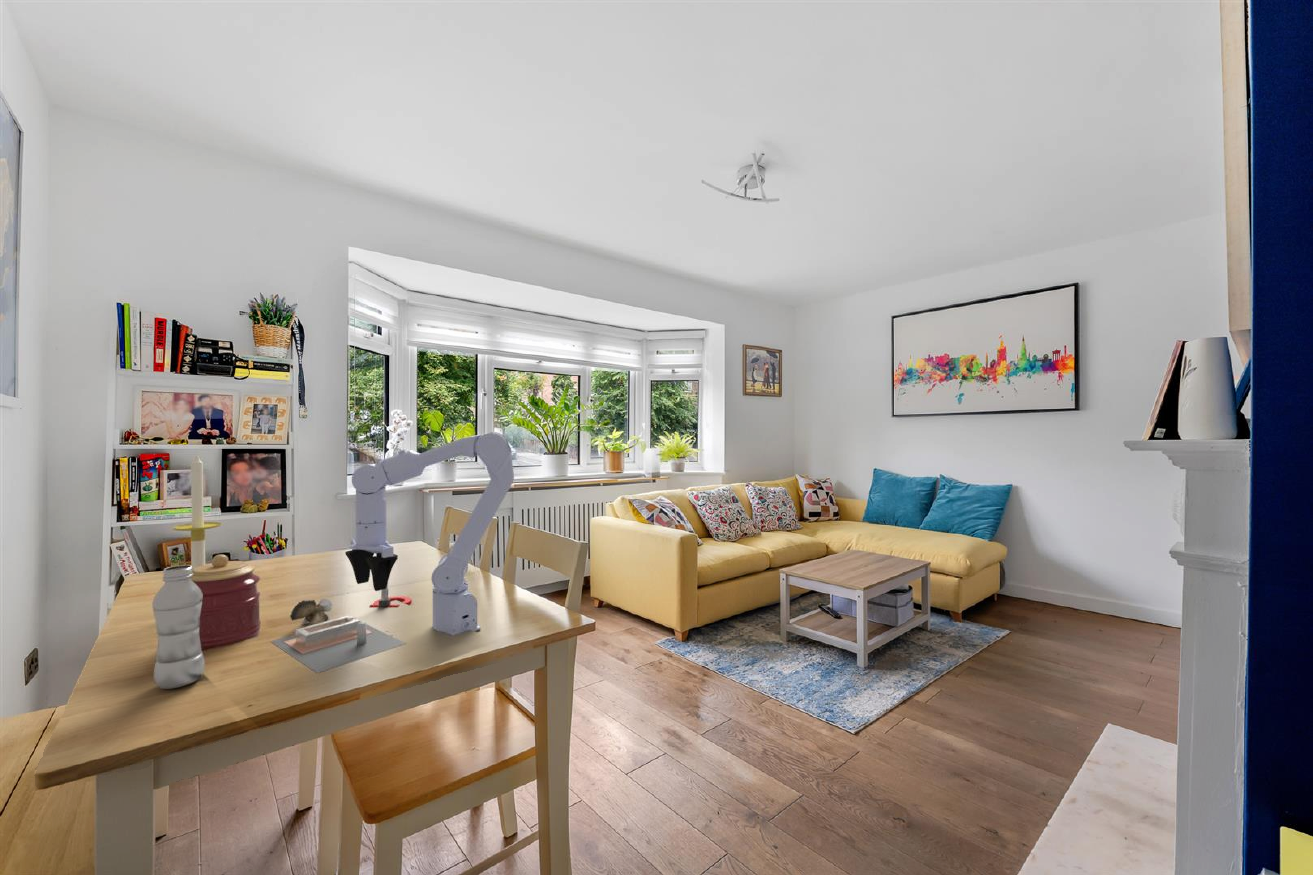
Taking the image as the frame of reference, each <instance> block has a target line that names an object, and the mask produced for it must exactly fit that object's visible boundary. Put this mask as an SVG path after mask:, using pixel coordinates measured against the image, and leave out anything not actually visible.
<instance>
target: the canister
mask: <svg viewBox="0 0 1313 875" xmlns="http://www.w3.org/2000/svg"><path fill="white" fill-rule="evenodd" d="M255 569H256V567H255V566H254V565H252V564H249V563H247V562H245V561H243V560H242V561H241V560H229V557H228V556H227V555H225V554H216V555H215V556H214V557H213V558H212V560H211V563H205V565H201V566H198V567H196V568H194V569H193V570H192V573H193V577H191V581H193V582H194V583H195V584H196V585H197V586H198V587H199V588H200V589H201V591H202V594H203V600H202V607H201V613H200V626H199V635H200V643H201V651H202V652H204V651H207V650H211V649H215V648H219V647H225V646H229V645H232V644H236V643H238V642H242V641H246V640H249V639H254V638H257V637H258V636H259V634H260V630H261V626H262V625H261V622H262V621H261V620H260V597H261V593H260V591H258V583H259V582H260V581H261V577H260V576H259V575H258V574H255V573H254V571H255Z"/></svg>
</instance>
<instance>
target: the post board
mask: <svg viewBox="0 0 1313 875" xmlns="http://www.w3.org/2000/svg"><path fill="white" fill-rule="evenodd" d="M353 619H356V618H354V617H353ZM270 643H272V644H273V645H274V646H276V647H277V648H278V649H280V650H282V651H283V652H284V653H286V654H288V655H289V656H291V657H292V658H294V659H295V660H296V661H298V662H299V663H301V664H302V665H304V666H305V667H307V668H308V669H310V670H311V671H313V672H315V673H316V674H320V673H323V672H326V671H329V670H331V669H335V668H337V667H340V666H343V665H347V664H350V663H353V662H355V661H360V660H361V659H365V658H367V657H371V656H374V655H376V654H380V653H383V652H385V651H388V650H391V649H394V648H398V647H400V646H403V645H406V644H407V643H406V642H404V641H402V640H400V639H398V638H396V637H393V636H392V635H389V634H387V633H386V632H383V631H381V630H379V629H377V628H375V627H373V626H371V625H369V624H367V621H361V620H360V622H359V623H357V634H354V635H350V636H347V637H344V638H340V639H337V640H333V641H330V642H327V643H323V644H320V645H316V646H313V647H310V648H304V647H303V646H301V645H300V644H298V643H297V642H296V634H293V635H290V636H289V635H288V636H285V637H282V638H278V639H275V640H271V641H270Z"/></svg>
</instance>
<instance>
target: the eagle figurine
mask: <svg viewBox="0 0 1313 875" xmlns="http://www.w3.org/2000/svg"><path fill="white" fill-rule="evenodd" d="M332 607H333V603H332V601H331V600H330V599H328V598H322V599H320V601H319V602H318V603H317V602H316V601H315V599H312V600H311V599H309V600H305V599H304V600H301V601H299V602H298V603H297V604H296V605H295V606H294V608H293V609H292V611H291V614H290V616H289V617H290V620H291V621H297V620H301V619H303V620H302V622H301V623H300V626H304V625H306V624H307V625H306V627H307V626H311V625H314V624H318V623H322V622H326V621H329V616H328V615H327V614H326V613H327V612H330V611H331V610H332Z"/></svg>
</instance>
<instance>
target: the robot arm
mask: <svg viewBox="0 0 1313 875" xmlns="http://www.w3.org/2000/svg"><path fill="white" fill-rule="evenodd" d="M397 452H398V454H395V455H393V456H390V457H387V458H384V459H382V458H381V457H380V458H377V459H375V460H374V462H375V463H370V464H363V465H362V466H360V467H358V468H357V469H356V470H355V471H354V472H353V473H352V475H351V483H352V486H353V488H354V489H355V500H354V502H355V504H354V505H355V508H354V509H355V516H354V517H355V520H354V522H355V537H353V538H352V537H351V538H350V540H349V542H350V545H349V549H350V550H347V551H345V555H346V557H347V558H348V561H349V562H350V565H351V567H352V569H353V574H354V578H355V581H356V584H357V585H361V584H365V583H369V581H370V576H371V577H372V587H373V589H374V591H375V592H378V591H381V590H383V589H386V587H387V584H388V585H389V579H390V576H391V575H390V574H391V572H392V570H393V567H394V565H395V564H396V562H397V561H398V558H399V557H398V554H395V552H394V546H392V545H391V544H390V543H389V541H388V540H387V498H386V496H387V495H386V494H387V493H386V492H387V490H386V488H387V486H391V487H392V486H394V485H397V484H399V483H400V484H401V483H403V482H406V481H408V480H411V479H414V478H417V477H419V476H421V475H422V474H423V472H424V470H425V468H426V467H429V466H432V465H436V464H439V463H441V462H445V461H448V460H451V459H453V458H454V459H455V458H457V457H461V456H463V457H468V458H475V457H477V456H478V457H479V459H480V460H481V461H482V463H483V464H484V465H485V466H486V469H487V473H488V476H489V482H488V484H487V486H486V487H485V489H484V491H483V493H482V494H481V495H480V496H481V497H480V498H479V500H478V501H477V503H476V505H475V507H474V508H473V510H472V512H471V514H470V516H469V518H468V519H467V521H466V523H465V525H464V526H463V528H462V530H461V531H460V533H459V535H458V537H457V538H456V540H455V542H454V543H453V546H452V547H451V549H450V551H449V552H448V553H447V554H446V555H444V556H443V557H441V558H440V560H439V561H438V565H437V566H436V567H435V568H434V570H433V571H432V574H431V583H432V585H433V587H432V629H433V630H435V631H437V632H443V633H446V634H448V635H451V636H456V635H458V634H461V633H464V632H466V631H472V632H476V631H480V630H481V629H482V627H481V626H480V625H479V624H478V600H477V598H476V597H475V595H474V594H472V593H471V592H470V590H469V582H467V580H466V579H465V578H464V577H465V576H466V573H467V572H468V570H469V569H468V568H469V561H470V560H471V558H472V556H473V554H474V552H475V551H476V549H477V547H478V545H479V544H480V542H481V540H482V538H483V537H484V534H485V533H486V531H487V529H488V527H489V525H490V524H491V522H492V521H493V518H494V516H495V515H496V513H497V511H498V510H499V508H500V506H501V504H502V502H503V501H504V499H505V496H506V495H507V494H508V492H509V490H510V488H511V486H512V485H513V483H514V481H515V480H514V479H515V472H514V465H513V456H512V455H513V454H512V448H511V446H510V444H509V442H508V440H507V438H506V436H504V435H503V434H502V433H501V432H497V431H490V432H487V433H483V434H475V435H472V436H466V437H462V438H459V439H456V440H453V441H450V442H448V443H445V444H442V445H440V446H439V445H438V447H434V448H432V449H429V450H426V451H423V452H421V453H420V452H416V451H414V450H412V449H410V450H406V449H402V450H398V451H397ZM375 554H376V555H375Z"/></svg>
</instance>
